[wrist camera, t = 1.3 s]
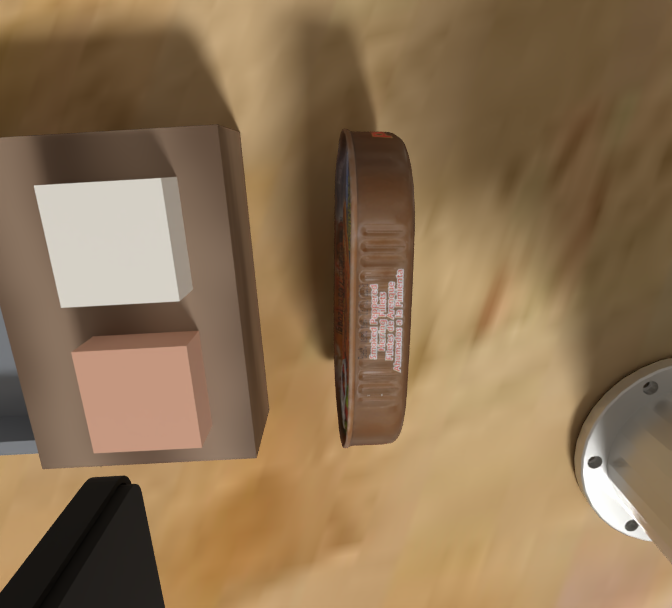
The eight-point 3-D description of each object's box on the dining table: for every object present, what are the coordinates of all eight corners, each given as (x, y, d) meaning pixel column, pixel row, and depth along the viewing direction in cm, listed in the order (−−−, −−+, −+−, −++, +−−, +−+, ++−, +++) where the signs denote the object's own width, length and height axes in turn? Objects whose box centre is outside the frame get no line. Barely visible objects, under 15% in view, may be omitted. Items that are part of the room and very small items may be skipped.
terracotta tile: (198, 330, 23) (186, 346, 21) (212, 425, 24) (201, 447, 22) (93, 336, 23) (70, 352, 21) (112, 430, 24) (93, 453, 22)
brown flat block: (239, 132, 25) (217, 124, 20) (269, 409, 29) (256, 457, 25) (28, 144, 25) (-44, 140, 20) (90, 419, 30) (42, 469, 25)
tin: (335, 134, 25) (335, 120, 17) (395, 135, 25) (425, 121, 17) (333, 396, 29) (332, 485, 21) (385, 397, 29) (404, 486, 21)
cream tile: (176, 176, 21) (160, 177, 19) (192, 289, 22) (179, 301, 20) (61, 183, 21) (33, 185, 19) (84, 295, 22) (61, 307, 20)
